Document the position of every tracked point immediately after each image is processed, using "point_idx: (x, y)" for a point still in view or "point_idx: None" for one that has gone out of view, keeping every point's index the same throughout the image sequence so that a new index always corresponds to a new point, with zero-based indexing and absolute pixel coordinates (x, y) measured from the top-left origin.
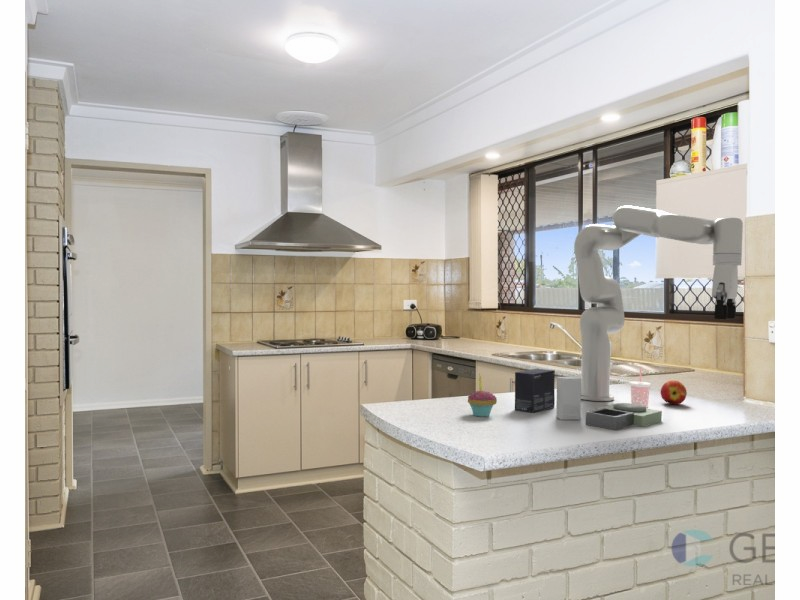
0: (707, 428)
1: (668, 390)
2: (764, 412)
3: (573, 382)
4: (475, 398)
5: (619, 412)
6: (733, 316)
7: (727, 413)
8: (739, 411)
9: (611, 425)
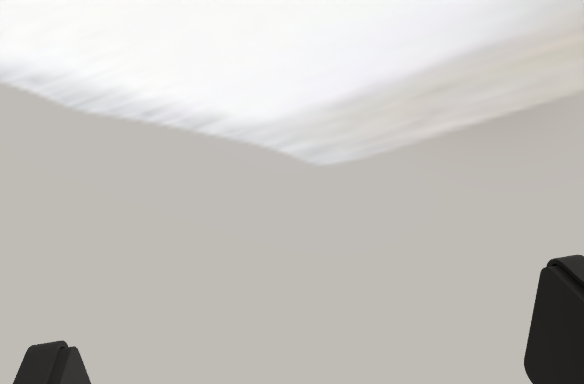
0: (18, 74)
1: None
2: (532, 99)
3: None
4: None
5: None
6: (533, 380)
7: (410, 10)
8: (492, 28)
9: None
